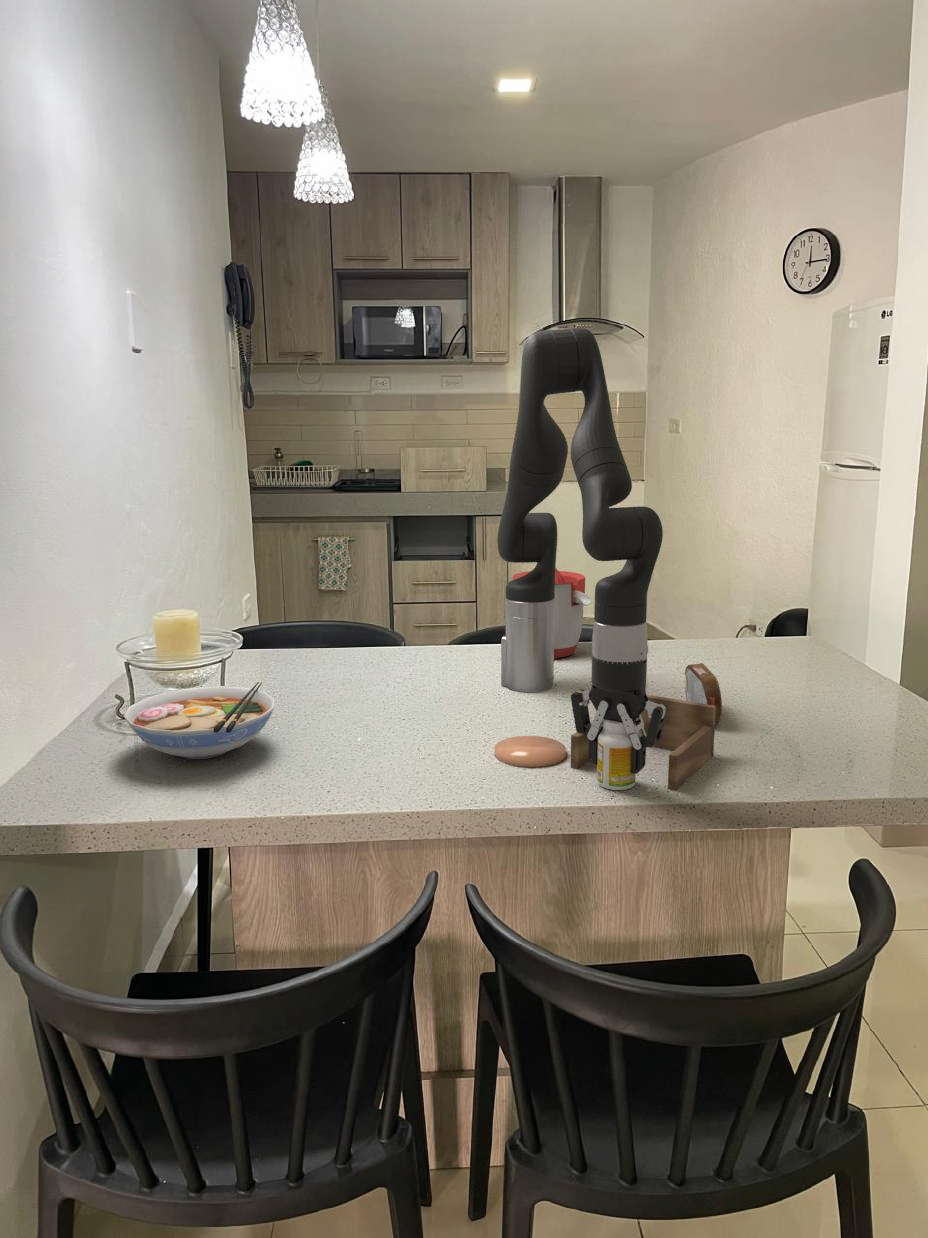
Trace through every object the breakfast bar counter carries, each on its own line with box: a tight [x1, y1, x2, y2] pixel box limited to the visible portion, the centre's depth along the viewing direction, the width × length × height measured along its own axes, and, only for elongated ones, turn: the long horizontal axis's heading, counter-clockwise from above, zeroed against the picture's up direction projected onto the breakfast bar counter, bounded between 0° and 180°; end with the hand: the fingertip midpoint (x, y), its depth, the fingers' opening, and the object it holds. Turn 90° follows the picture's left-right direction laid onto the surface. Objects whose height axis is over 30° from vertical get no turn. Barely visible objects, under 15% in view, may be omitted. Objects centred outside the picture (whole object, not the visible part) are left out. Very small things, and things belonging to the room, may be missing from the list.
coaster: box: [494, 735, 567, 768], centre depth 147 cm, size 11×11×1 cm
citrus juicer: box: [511, 567, 592, 660], centre depth 204 cm, size 16×17×20 cm
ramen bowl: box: [123, 681, 275, 760], centre depth 148 cm, size 25×23×8 cm
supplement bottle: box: [596, 719, 637, 791], centre depth 134 cm, size 5×5×10 cm
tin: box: [684, 662, 723, 724], centre depth 164 cm, size 15×3×8 cm, turn 1°
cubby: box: [570, 693, 716, 791], centre depth 143 cm, size 16×16×8 cm
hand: (616, 767), depth 134 cm, fingers closed on supplement bottle, 5 cm apart
